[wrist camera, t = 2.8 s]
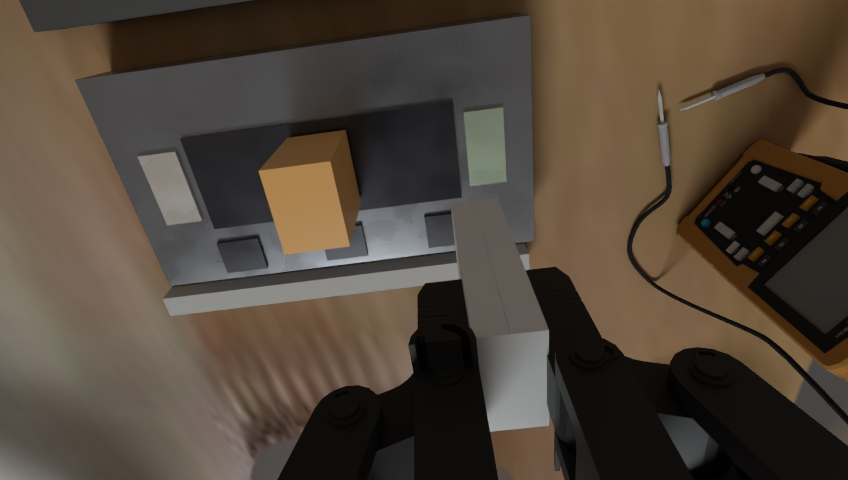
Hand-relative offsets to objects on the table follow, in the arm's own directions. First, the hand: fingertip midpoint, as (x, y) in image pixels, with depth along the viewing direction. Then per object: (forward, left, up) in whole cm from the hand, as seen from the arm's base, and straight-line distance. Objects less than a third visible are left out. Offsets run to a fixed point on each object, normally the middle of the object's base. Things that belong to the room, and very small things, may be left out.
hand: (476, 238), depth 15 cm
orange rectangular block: (-7, 0, -10) cm, 12 cm away
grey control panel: (-7, 0, -13) cm, 15 cm away
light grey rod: (-8, -9, -13) cm, 18 cm away
